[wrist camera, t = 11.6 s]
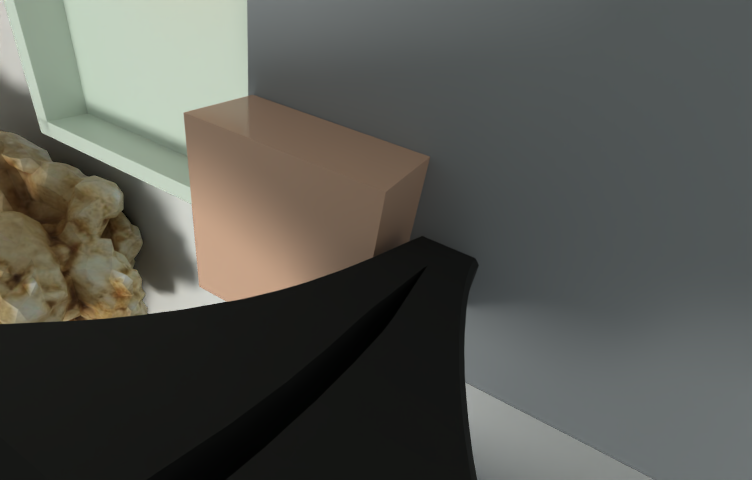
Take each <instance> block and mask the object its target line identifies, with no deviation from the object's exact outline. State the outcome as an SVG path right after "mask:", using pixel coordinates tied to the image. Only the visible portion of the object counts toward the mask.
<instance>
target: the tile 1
mask: <svg viewBox="0 0 752 480" xmlns="http://www.w3.org/2000/svg"><path fill="white" fill-rule="evenodd" d="M183 114H184V125H185V135H186V146H187V157H188V168H189V179H190V190H191V201H192V212H193V223H194V234H195V245H196V256H197V267H198V278H199V287H201V288H203V289H205V290H207V291H209V292H210V293H212V294H214V295H216V296H218V297H219V298H221V299H223V300H225V301H227V302H229V301H234V300H240V299H244V298H249V297H253V296H257V295H261V294H265V293H270V292H274V291H278V290H281V289H285V288H289V287H292V286H296V285H299V284H302V283H306V282H309V281H311V280H314V279H317V278H320V277H323V276H326V275H329V274H332V273H334V272H337V271H340V270H343V269H345V268H348V267H350V266H353V265H355V264H358V263H360V262H363V261H365V260H367V259H370V258H372V257H375V256H377V255H379V254H382V253H384V252H386V251H388V250H391V249H393V248H395V247H397V246H400V245H402V244H404V243H406V242H409V240H410V236H411V232H412V228H413V224H414V220H415V216H416V212H417V208H418V204H419V200H420V196H421V192H422V188H423V184H424V180H425V176H426V172H427V168H428V164H429V160H430V156H427V155H424V154H421V153H418V152H415V151H412V150H410V149H407V148H404V147H401V146H398V145H395V144H393V143H390V142H387V141H384V140H381V139H378V138H375V137H373V136H370V135H367V134H364V133H361V132H358V131H355V130H353V129H350V128H347V127H344V126H341V125H338V124H335V123H333V122H330V121H327V120H324V119H321V118H318V117H315V116H313V115H310V114H307V113H304V112H301V111H298V110H295V109H293V108H290V107H287V106H284V105H281V104H278V103H275V102H273V101H270V100H267V99H264V98H261V97H258V96H256V95H250V96H246V97H242V98H238V99H234V100H230V101H226V102H222V103H219V104H215V105H211V106H207V107H203V108H199V109H195V110H191V111H188V112H184V113H183Z"/></svg>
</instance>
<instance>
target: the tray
mask: <svg viewBox="0 0 752 480" xmlns="http://www.w3.org/2000/svg"><path fill="white" fill-rule="evenodd" d="M3 1H4V4H5V8H6V11H7V15H8V18H9V22H10V25H11V29H12V32H13V36H14V39H15V43H16V46H17V50H18V53H19V57H20V60H21V63H22V67H23V70H24V74H25V77H26V81H27V84H28V88H29V91H30V95H31V98H32V102H33V105H34V109H35V112H36V116H37V119H38V123H39V126H40V129H41V133H43V134H45V135H47V136H50V137H52V138H54V139H56V140H58V141H60V142H62V143H64V144H66V145H68V146H71V147H73V148H75V149H77V150H79V151H81V152H83V153H85V154H87V155H89V156H92V157H94V158H96V159H98V160H100V161H102V162H104V163H106V164H108V165H110V166H112V167H115V168H117V169H119V170H121V171H123V172H125V173H127V174H129V175H131V176H133V177H136V178H138V179H140V180H142V181H144V182H146V183H148V184H150V185H152V186H154V187H157V188H159V189H161V190H163V191H165V192H167V193H169V194H171V195H173V196H175V197H178V198H180V199H182V200H184V201H186V202H188V203H190V204H192V201H191V190H190V179H189V168H188V157H187V146H186V135H185V125H184V114H183V113H184V112H188V111H191V110H195V109H199V108H203V107H207V106H211V105H215V104H219V103H222V102H226V101H230V100H234V99H238V98H242V97H246V96H248V38H247V0H3Z"/></svg>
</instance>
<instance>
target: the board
mask: <svg viewBox="0 0 752 480" xmlns="http://www.w3.org/2000/svg"><path fill="white" fill-rule="evenodd" d="M247 38H248V96H250V95H256V96H258V97H261V98H264V99H267V100H270V101H273V102H275V103H278V104H281V105H284V106H287V107H290V108H293V109H295V110H298V111H301V112H304V113H307V114H310V115H313V116H315V117H318V118H321V119H324V120H327V121H330V122H333V123H335V124H338V125H341V126H344V127H347V128H350V129H353V130H355V131H358V132H361V133H364V134H367V135H370V136H373V137H375V138H378V139H381V140H384V141H387V142H390V143H393V144H395V145H398V146H401V147H404V148H407V149H410V150H412V151H415V152H418V153H421V154H424V155H427V156H430V160H429V164H428V168H427V172H426V176H425V180H424V184H423V188H422V192H421V196H420V200H419V204H418V208H417V212H416V216H415V220H414V224H413V228H412V232H411V236H410V240H409V241H411V240H414V239H416V238H418V237H421V236H424V237H426V238H428V239H431V240H433V241H436V242H438V243H440V244H443V245H445V246H448V247H450V248H452V249H455V250H457V251H459V252H462V253H464V254H467V255H469V256H471V257H474V258H476V260H477V262H478V264H479V266H478V269H477V272H476V275H475V277H474V280H473V283H472V285H471V288H470V291H469V296H468V302H467V310H466V323H465V343H464V358H465V382H466V383H468V384H470V385H471V386H473V387H475V388H477V389H479V390H481V391H483V392H485V393H487V394H489V395H491V396H493V397H495V398H497V399H499V400H501V401H503V402H505V403H507V404H508V405H510V406H512V407H514V408H516V409H518V410H520V411H522V412H524V413H526V414H528V415H530V416H532V417H534V418H536V419H538V420H540V421H542V422H543V423H545V424H547V425H549V426H551V427H553V428H555V429H557V430H559V431H561V432H563V433H565V434H567V435H569V436H571V437H573V438H575V439H577V440H578V441H580V442H582V443H584V444H586V445H588V446H590V447H592V448H594V449H596V450H598V451H600V452H602V453H604V454H606V455H608V456H610V457H612V458H614V459H615V460H617V461H619V462H621V463H623V464H625V465H627V466H629V467H631V468H633V469H635V470H637V471H639V472H641V473H643V474H645V475H647V476H649V477H650V478H652V479H654V480H752V0H247Z"/></svg>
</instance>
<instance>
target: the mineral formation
mask: <svg viewBox="0 0 752 480" xmlns="http://www.w3.org/2000/svg"><path fill="white" fill-rule="evenodd" d="M122 210H123V193H122V191H121V190H120V189H119V187H118V186H117V184H116V183H114V182H111V181H108V180H106V179H103V178H100V177H98V176H95V175H94V176H90V177H88V176H86V175H84V174H83V173H82V172H81V171H80V170H79V169H78V168H75V167H73V166H71V165H69V164H65V163H58V162H53V161H52V160H51V158H50V156H49V154H48V152H47V150H44V149H42V148H40V147H38V146H37V145H35V144H33V143H32V142H30V141H28V140H26V139H25V138H23V137H21V136H20V135H17V134H15V133H11V132H3V131H1V130H0V324H14V323H35V322H57V321H78V320H92V319H105V318H116V317H126V316H136V315H145V314H147V310H148V308H147V307H146V305H145V304H144V302H143V301H142V299H143V297H144V296H145V292H144V291H143V289H142V288H141V285H142V279H141V277H140V275H139V273H138V271H137V270H135V269H133V267H134V264H135V260H134V258H135V257H136V255H137V254H138V252H139V251H140V249H141V247H142V245H143V241H142V237H141V233H140V231H139V228H138V227H137V226H134V225H132V224H131V223H130V222H129V220H128V219H127V218H126V216H125V215H124V214H123V213H122V212H121V211H122Z"/></svg>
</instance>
